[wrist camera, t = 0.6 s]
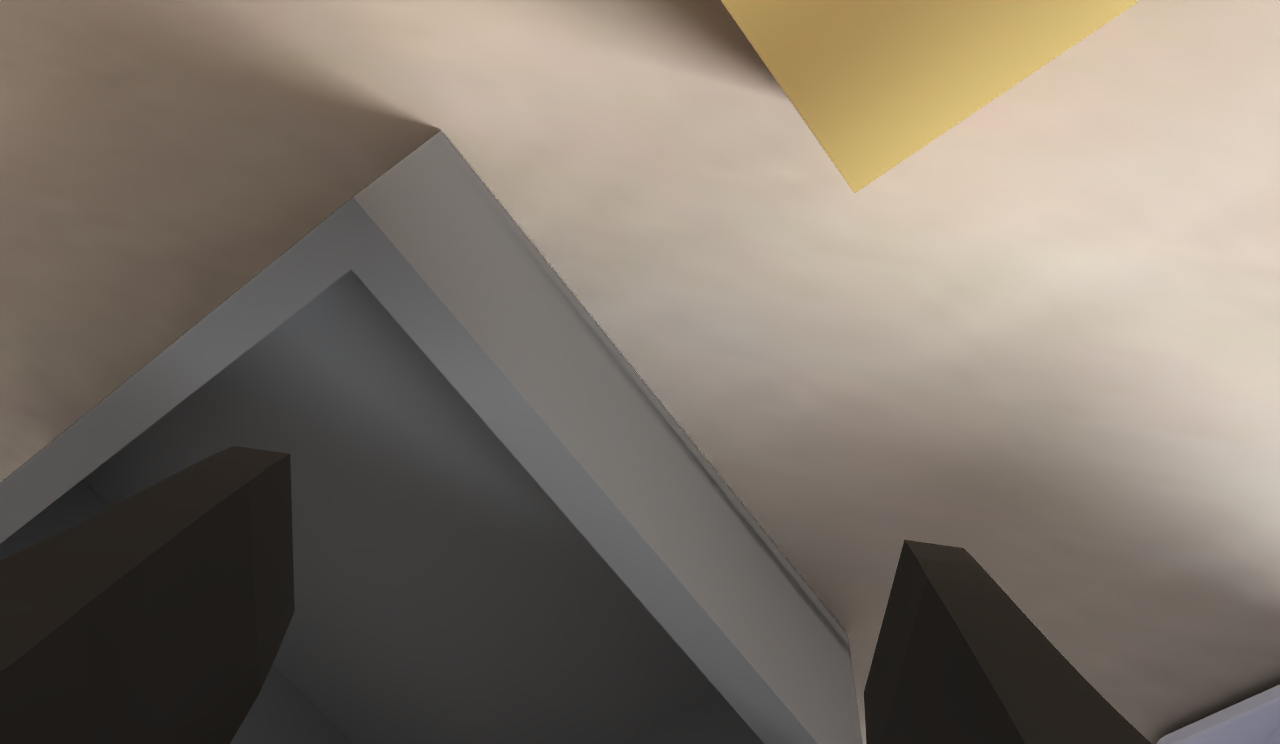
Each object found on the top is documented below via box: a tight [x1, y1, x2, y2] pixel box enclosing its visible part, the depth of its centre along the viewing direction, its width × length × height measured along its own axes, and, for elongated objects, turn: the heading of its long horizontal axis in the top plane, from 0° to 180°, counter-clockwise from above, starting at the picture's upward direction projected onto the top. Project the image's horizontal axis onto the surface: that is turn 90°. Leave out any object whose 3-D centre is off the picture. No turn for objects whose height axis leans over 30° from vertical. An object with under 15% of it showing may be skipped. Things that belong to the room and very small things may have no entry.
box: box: [0, 131, 862, 744], centre depth 22 cm, size 14×12×5 cm
